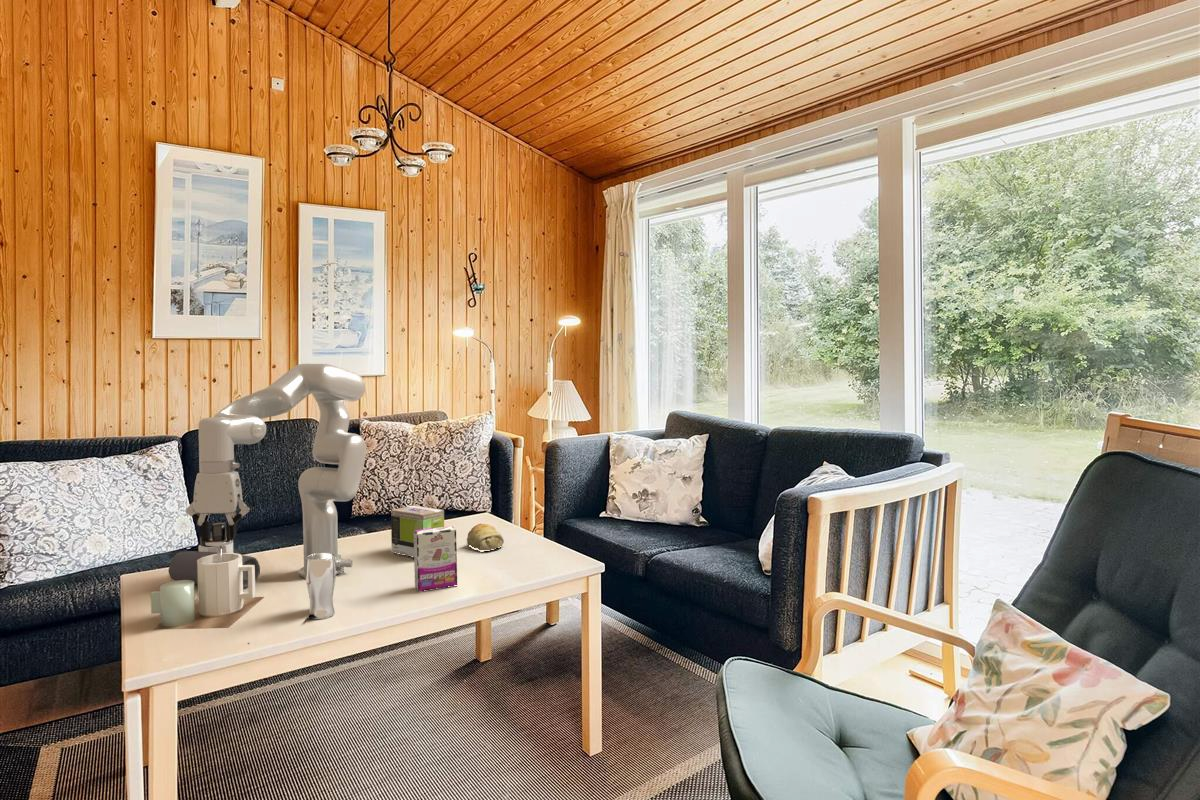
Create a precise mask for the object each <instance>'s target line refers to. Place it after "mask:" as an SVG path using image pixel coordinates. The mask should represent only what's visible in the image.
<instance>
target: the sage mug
mask: <svg viewBox="0 0 1200 800" xmlns="http://www.w3.org/2000/svg"><path fill="white" fill-rule="evenodd" d="M195 596H196V595H195V585H194V581H191V580H178V581H174V580H172V581H169V582H166V583H163V584H161V585H160V586H159V590H158V591H151V592H150V611H151V613H150V614H151V615H152V614H160V624H161V626H163V627H179V626H184V625H187V624H190V623H192V622H193V621H195V600H196V598H195Z"/></svg>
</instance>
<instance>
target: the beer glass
mask: <svg viewBox="0 0 1200 800" xmlns="http://www.w3.org/2000/svg"><path fill="white" fill-rule="evenodd" d="M336 576H337V575H336V565H335V555H334V554H333V553H327V552H324V553H315V554H311V555H309V556H307V557H306V578H305V581H306V582H305V583H306V588H307V592H308V598H309V609H308V613H309V614H308V618H309V619H310V620H325V619H328V618H332V617H333V616H334V615H335V607H334V601H333V600H334V590H335V585H336V584H335V583H336Z"/></svg>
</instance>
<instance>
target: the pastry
mask: <svg viewBox="0 0 1200 800" xmlns="http://www.w3.org/2000/svg"><path fill="white" fill-rule="evenodd" d="M504 542H505V540H504V537H503V535H502V534H501V533H500V532H499V531H498V530H497V529H496V527H494V526H492V525H490V524H488V523H478V524H477V525H475V526H473V527H472V528H471V529H470V531H468V533H467V538H466V544H467V546H468V545H471V546H472V547H474V548H478V549H479V550H491V549H495V548H498V547H500V546H502V547H503V545H504Z"/></svg>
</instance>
